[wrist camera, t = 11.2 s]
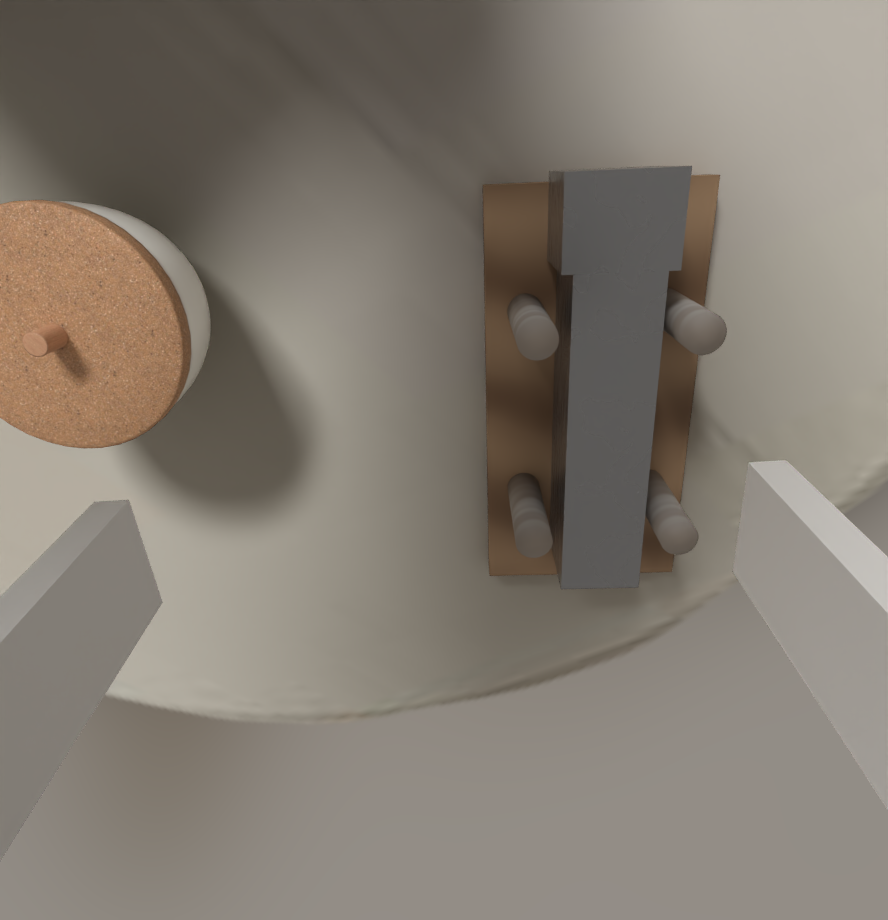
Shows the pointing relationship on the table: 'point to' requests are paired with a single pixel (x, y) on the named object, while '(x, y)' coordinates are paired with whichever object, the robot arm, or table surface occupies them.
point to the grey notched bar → (608, 359)
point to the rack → (532, 378)
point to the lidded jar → (94, 323)
